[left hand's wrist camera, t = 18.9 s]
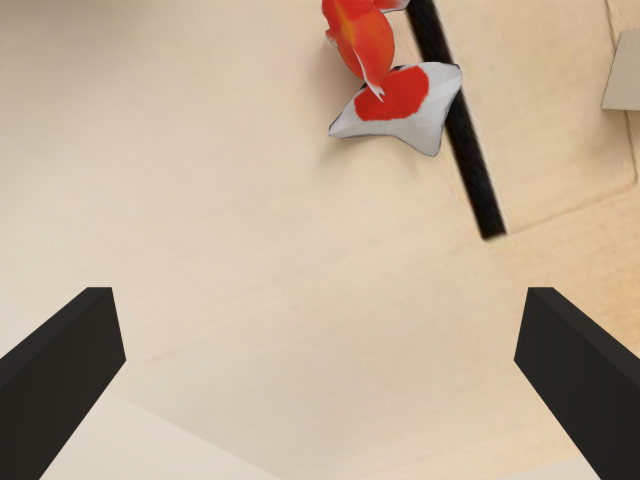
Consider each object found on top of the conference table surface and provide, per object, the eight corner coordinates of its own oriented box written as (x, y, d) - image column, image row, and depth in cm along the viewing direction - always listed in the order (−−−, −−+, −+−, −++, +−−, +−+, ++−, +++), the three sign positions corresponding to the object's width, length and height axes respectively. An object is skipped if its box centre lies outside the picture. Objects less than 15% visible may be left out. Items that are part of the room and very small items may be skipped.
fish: (451, -80, 28) (453, -38, 21) (466, 116, 38) (470, 184, 32) (310, -32, 32) (276, 16, 25) (358, 134, 42) (343, 197, 36)
